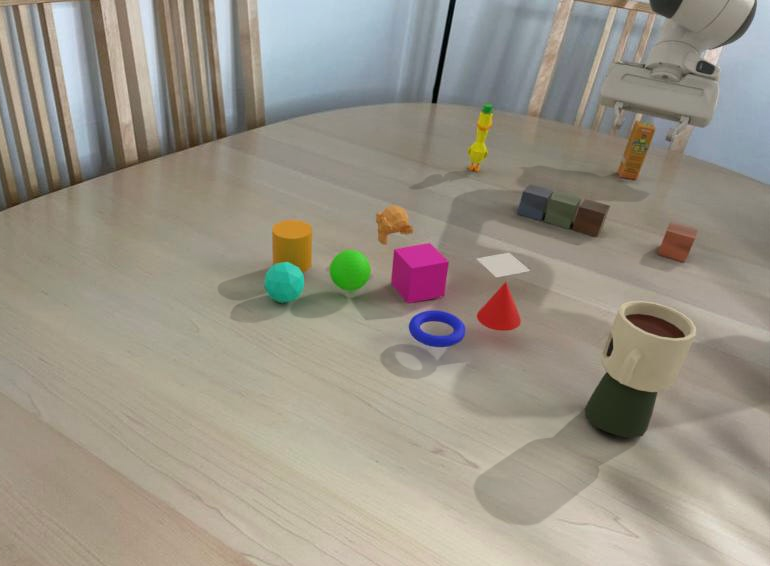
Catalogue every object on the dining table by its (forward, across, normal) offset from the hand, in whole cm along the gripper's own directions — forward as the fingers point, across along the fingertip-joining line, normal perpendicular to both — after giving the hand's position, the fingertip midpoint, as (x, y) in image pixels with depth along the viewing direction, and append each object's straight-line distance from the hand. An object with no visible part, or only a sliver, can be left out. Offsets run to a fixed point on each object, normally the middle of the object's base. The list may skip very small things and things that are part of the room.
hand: (642, 133), depth 138 cm
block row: (+28, +1, -18) cm, 33 cm away
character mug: (+63, +13, -52) cm, 82 cm away
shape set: (+56, -16, -45) cm, 74 cm away
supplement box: (+7, 0, +4) cm, 8 cm away
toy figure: (+19, -24, -8) cm, 32 cm away
